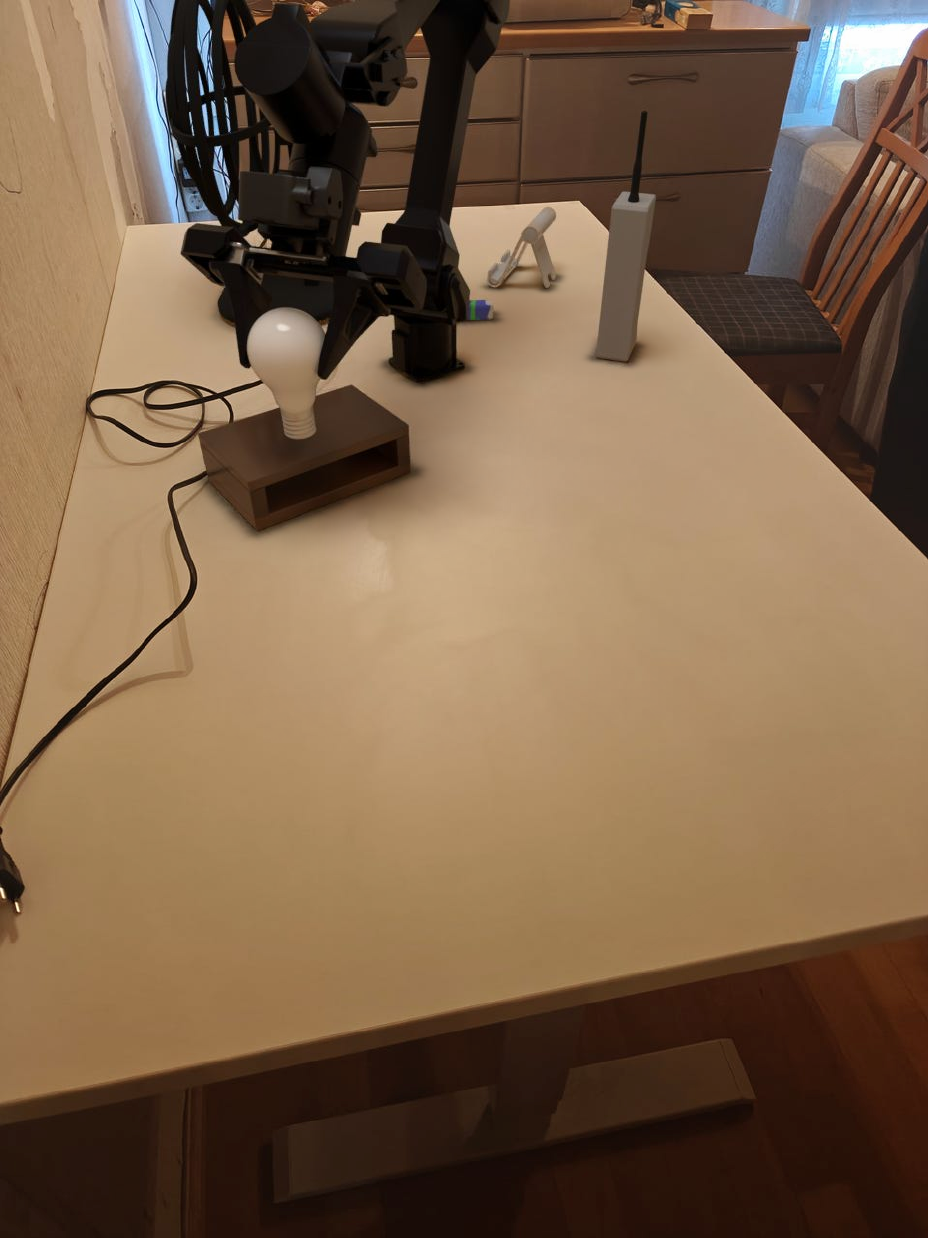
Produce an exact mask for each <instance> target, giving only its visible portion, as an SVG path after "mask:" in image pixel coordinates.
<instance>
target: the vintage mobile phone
mask: <svg viewBox="0 0 928 1238" xmlns="http://www.w3.org/2000/svg"><path fill="white" fill-rule="evenodd" d="M648 113H649V112H648V111H647V110H642V111H641V112H640V120H639V129H638V137H637V146H636V154H635V160H634V164H633V168H632V176H631V185H630V191H621V193H620V194H619V196H618V197H617V198H616V200H615V201H614V203H613V204H612V206H611V212H610V220H609V221H610V222H609V230H608V239H607V248H606V259H605V267H604V277H603V286H602V296H601V305H600V314H599V315H600V316H599V322H598V330H597V341H596V349H595V356H596V358H598V359H603V360H611V361H616V362H617V361H618V362H623V363H626V362H628V361H629V359H630V357H631V355H632V352H633V350H634V348H635V346H636V344H637V339H638V323H639V317H640V308H641V301H642V294H643V286H644V278H645V272H646V264H647V257H648V252H649V247H650V241H651V234H652V229H653V228H652V227H653V222H654V221H653V220H654V214H655V207H656V200H657V196H656V194H653V193H643V192H640V186H641V185H640V184H641V178H642V169H643V161H642V160H643V153H644V146H645V145H644V143H645V137H646V129H647V122H648V121H647V119H648Z"/></svg>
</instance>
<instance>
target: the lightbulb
mask: <svg viewBox="0 0 928 1238" xmlns="http://www.w3.org/2000/svg"><path fill="white" fill-rule="evenodd" d="M325 334H326V331H325V330H324V328H323V327H322V325H321V324H320V322H317V321H316V320H315V319H314V318H313V317H312V316H311V315H309V314H308V313H306V312H304V311H302V310H299V309H296V308H290V307H281V308H276V309H273V310H270V311H268V312H266V313H264V314H263V315H262V316H260V317H259V318H258V319H257V320H256V322H255V323H254V324H253V326H252V328H251V330H250V332H249V335H248V339H247V355H248V359H249V362H250V365H251V367H250V368H251V369H252V370H253V372H254V374H255V375H256V376H257V378H258V379H259V380H260V381H261V382H262V383H263V384H264V385H265V386H266V387H267V388H268V389H269V390H270V392H271V394H272V396H273V398H274V401H275V403H276V405H277V406H278V408H280V410H281V416H282V421H283V426H284V433H285V435H286V436H287V437H289V438H292V439H296V440H304V439H307V438H309V437H311V436H312V435H313V434H314V433H315V432H316V426H315V425H316V423H315V417H314V408H313V404H314V402H315V398H316V395H317V388H318V385H319V383H320V381H321V380H322V379H321V378H320V377H318V366H319V358H320V353H321V349H322V345H323V342H324V338H325Z"/></svg>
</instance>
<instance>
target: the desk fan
mask: <svg viewBox="0 0 928 1238" xmlns="http://www.w3.org/2000/svg"><path fill="white" fill-rule="evenodd" d="M200 8H201V11H202V12H203V14H204V16H205V18H206V20H207V23H208V25H209V27H210V31H211V73H212V87H213V90H211V91H210V86H209V82H208V77H207V72H206V69H205V65H204V62H203V58H202V55H201V53H200V50H199V48H198V47H199V46H198V45H199V44H198V39H199V37H198V36H199V35H198V34H199V33H198V30H199V29H198V27H199V26H198V25H199V10H200ZM226 14H227V17H228V20H229V24H230V27H231V31H232V36H233V39H234V44H235V48H236V49H237V46H238V44H239V43H240V42H242V41H243V39H244V38H245V36H246V35H247V34H248V33H249V31H250V30H251V29H252V28H254V27H255V26H256V25H257V23H256V20H255V18H254V15H253V13H252V11H251V9H250V7H249V4H248V3H247V1H246V0H215V3H214V8H213V6H212V4H211V2H210V0H174V2H173V7H172V13H171V19H170V34H169V35H170V36H169V41H168V47H167V56H166V57H167V58H166V81H165V107H166V113H167V118H168V122H169V126H170V130H171V135H172V137H173V139H174V140H175V142H176V144H177V148H178V151H179V155H180V158H181V161H182V163H183V166H184V168H185V170H186V172H187V174H188V176H189V178H190V179H191V180H192V182H194V183H195V186H196V188H197V192H198V194H199V197H200V199H201V201H202V202H203V204H204V207H206V209H207V211H208V212H209V213H210V214H211V215H213V216H214V217H216V218H217V221H218V222H219V224H220V226H228V227H235V228H236V230H237V231H238V232H239V233H240V234H241V235H242V236H243V237H244V238H245V237H247V236H248V235H249V234H250V233H253V232H255V231H257V229H258V224H259V223H257V222H254V221H250V220H246V221H241V222H239V221H237V220H235V219H233V218H232V217H230V215H231V214H232V212H233V211H234V208H235V205H236V202H237V204H238V205H239V178H240V142H242V141H245V140H248V152H249V156H248V157H249V172H260V173H270V166H271V165H270V164H271V154H270V151H271V149H270V147H271V146H270V127H272V129H273V134H274V155H273V165H272V172H271V174H276V173H277V172H278V170H279V169H280V166H281V165H280V164H281V146H287V154H288V162H289V161H290V156H291V152H292V147H293V143H291V142H289V141H286V140H285V139H283V138H282V137H281V136H280V135H279V134H278V133H277V131H276V130H275V129H274V127H273V126H272V125H271V123H270V122H269V121H268V119H267V118H266V117H265V115H264V114H263V112H262V111H261V110H260V108H259V107H258V115H259V121H258V115H257V104H256V103H255V102H254V100H253V99H252V98H251V96H250V95H249V94H248V92H247V91H246V90H245V88H244V87H243V86H242V85H236V86H235V85H234V83H233V76H232V71H231V66H230V62H229V56H228V52H227V48H226V44H225V39H224V37H223V33H224V23H225V22H224V21H225V16H226ZM200 81H201V82H200ZM200 83H201V84H200ZM201 86H202V91H203V94H202V93H201ZM236 96H244V101H245V102H244V103H245V112H246V113H245V114H246V120H247V126H246V127H244V128H241V129H239V121H238V111H237V103H236ZM225 99H226V101H225ZM212 102H214V107H215V108H214V109H215V115H216V122H217V123H216V124H217V129H218V130H217V131H218V134H215V124H214V123H215V121H214V112H213V105H212ZM226 104H227V108H226ZM204 105H205V110H206V118H207V131H208V133H207V131H206V124H205V116H204V111H203V106H204ZM227 113H228V116H227ZM228 122H229V124H228ZM207 134H208V135H207ZM259 135H260V140H259ZM259 141H260V142H259ZM259 143H260V144H261V152H260V144H259ZM216 147H217V148H218V147H221V151H222V157H223V160H224V165H225V169H226V173H227V176H228V181H229V187H228V192H227V197H226V200H225V202H224V201H223V198H222V195H221V192H220V188H219V185H218V182H217V181H218V180H217V178H216V174H215V171H214V167H215V166H214V164H215V153H216V152H215V149H216ZM238 205H237V206H238ZM261 286H262V287H263V288H264V289H265V290H266V291H267V292H268V293H269V294H270V295H271V296H272V297H273V298H272V302H271V305H270V309H269V311H270V310H273V309H276V308H281V307H290V308H296V309H299V310H302V311H304V312H306V313H308V314H309V315H311V316H312V317H313V318H314V319H315V320H316V321H317V322H318V323H320V322H322V321H325V320H327V319H330V315H331V311H332V307H333V282H330V281H322V280H313V279H305V278H297V277H289V276H280V275H272V274H264V275H263V279H262V283H261ZM216 304H217V310H218V313H219V315H220V316H221V317H222V318H223V319H225V321H228V322H231V323H233V324H235V322H234V315H233V309H232V305H231V301H230V297H229V293H228V290H227V288H226V287H224V288H223V290H222V291H221V293H220V295H219V296H218V299H217V303H216Z"/></svg>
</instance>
